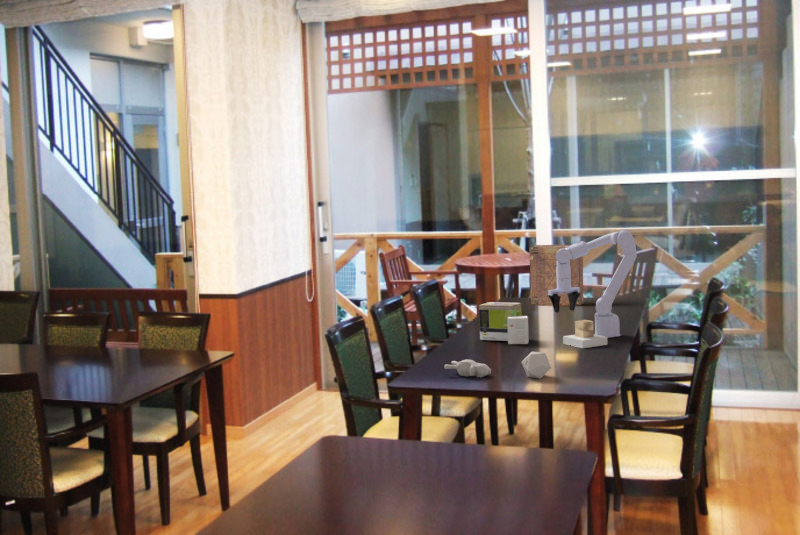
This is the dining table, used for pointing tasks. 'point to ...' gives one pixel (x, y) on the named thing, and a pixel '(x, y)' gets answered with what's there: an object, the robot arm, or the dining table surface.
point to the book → (551, 275)
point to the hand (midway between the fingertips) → (564, 311)
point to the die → (536, 364)
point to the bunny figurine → (469, 368)
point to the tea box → (496, 319)
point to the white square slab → (585, 341)
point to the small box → (517, 329)
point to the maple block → (584, 328)
